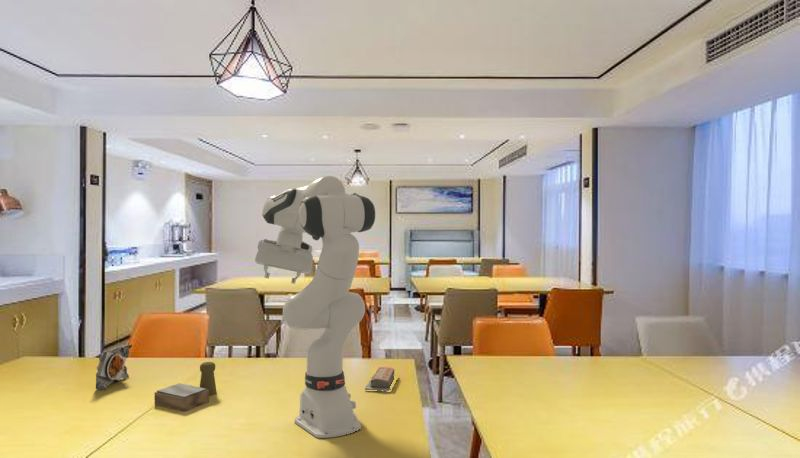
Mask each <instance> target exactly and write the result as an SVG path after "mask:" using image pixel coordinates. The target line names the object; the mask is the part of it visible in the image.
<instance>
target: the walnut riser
mask: <svg viewBox="0 0 800 458" xmlns="http://www.w3.org/2000/svg"><path fill="white" fill-rule="evenodd" d="M209 397H210V396H209V390H207V389H206V388H201V387H200V386H195V385H191V384H190V385H189V384H186V383H181V382H180V383H176V384H173V385H170V386H167V387H164V388H161V389H158V390H156V391H155V392H154V406H155V405H156V406H160V407H162V408H168V409H172V410H177V411H181V412H188V411H189V410H191V409H194V408H196V407H199V406H202V405H204V404H206V403H209V401H210V400H209Z"/></svg>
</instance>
